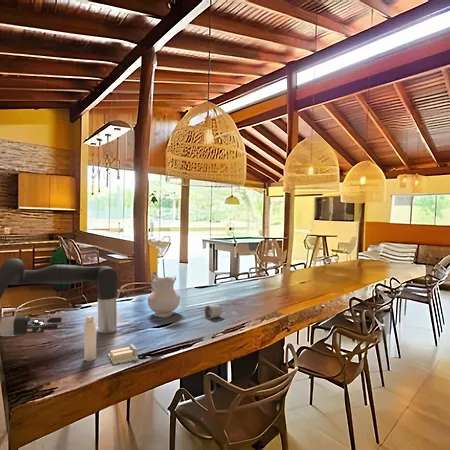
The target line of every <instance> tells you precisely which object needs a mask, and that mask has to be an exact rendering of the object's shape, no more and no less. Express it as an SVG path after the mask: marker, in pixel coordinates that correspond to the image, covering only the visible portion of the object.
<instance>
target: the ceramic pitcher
mask: <svg viewBox="0 0 450 450" xmlns="http://www.w3.org/2000/svg"><path fill="white" fill-rule="evenodd" d="M176 280H177V275H175V276H174V277H173V276H165V277H158V274H157V271H153V272H151V275H150V286H151V289H152V292H150V294H149V295H148V297H147V305H148V307H149V309H150V310H151V311H152V312H154V313H153V316H155V317H159V318H163V319H164V318H169V317H171V316H172V315H174V311H175V310H177V309H178V307H179V305H180V304H181V303H180V302H181V295H180V294H179V292H177V291H176V290H175V289H174V285H175V282H176Z"/></svg>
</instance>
